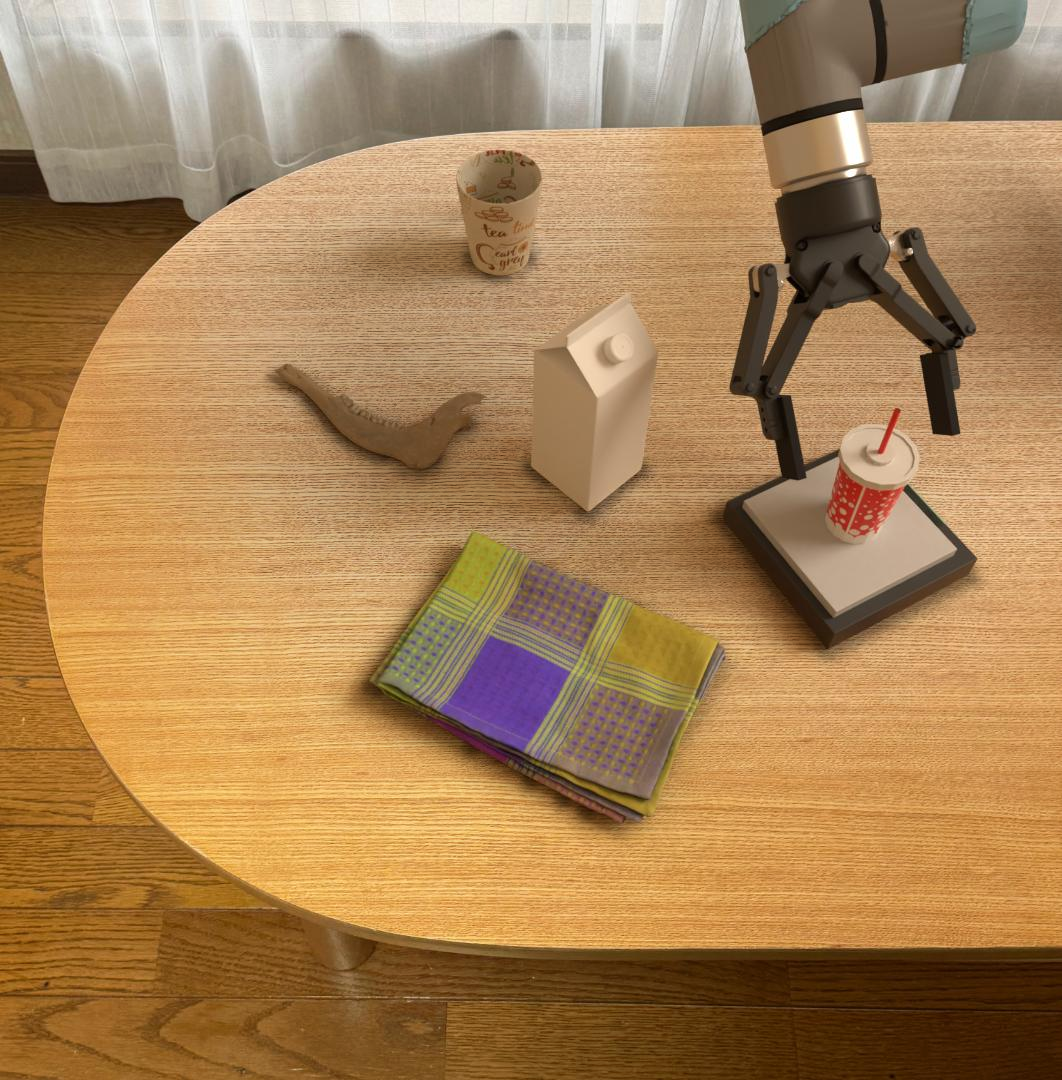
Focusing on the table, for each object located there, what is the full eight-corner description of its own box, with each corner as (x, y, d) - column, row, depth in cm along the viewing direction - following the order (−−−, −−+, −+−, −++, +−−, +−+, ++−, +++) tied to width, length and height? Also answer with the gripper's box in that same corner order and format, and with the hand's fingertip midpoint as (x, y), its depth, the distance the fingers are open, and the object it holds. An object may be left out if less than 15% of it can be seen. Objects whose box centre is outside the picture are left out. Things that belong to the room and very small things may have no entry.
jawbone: (463, 483, 105) (461, 471, 103) (247, 445, 107) (241, 432, 106) (487, 404, 109) (486, 390, 107) (278, 369, 112) (274, 355, 110)
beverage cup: (900, 511, 99) (951, 399, 87) (873, 563, 96) (923, 454, 84) (832, 481, 100) (873, 368, 89) (804, 531, 97) (843, 420, 86)
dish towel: (477, 535, 101) (476, 516, 99) (737, 657, 94) (743, 640, 92) (363, 693, 92) (359, 676, 90) (642, 840, 85) (645, 826, 83)
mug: (450, 276, 119) (445, 196, 111) (482, 198, 127) (480, 118, 118) (529, 290, 118) (530, 210, 110) (557, 211, 126) (560, 131, 117)
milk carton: (530, 468, 105) (533, 312, 90) (585, 426, 108) (597, 268, 93) (587, 514, 102) (601, 361, 87) (642, 469, 105) (664, 314, 90)
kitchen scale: (858, 454, 107) (867, 429, 104) (969, 574, 99) (983, 551, 96) (721, 518, 102) (727, 494, 99) (827, 649, 95) (837, 627, 92)
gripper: (938, 157, 94) (978, 414, 98) (652, 223, 89) (708, 492, 93) (997, 140, 87) (1038, 418, 91) (690, 211, 82) (748, 502, 86)
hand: (871, 456), depth 92 cm, fingers open, 13 cm apart
